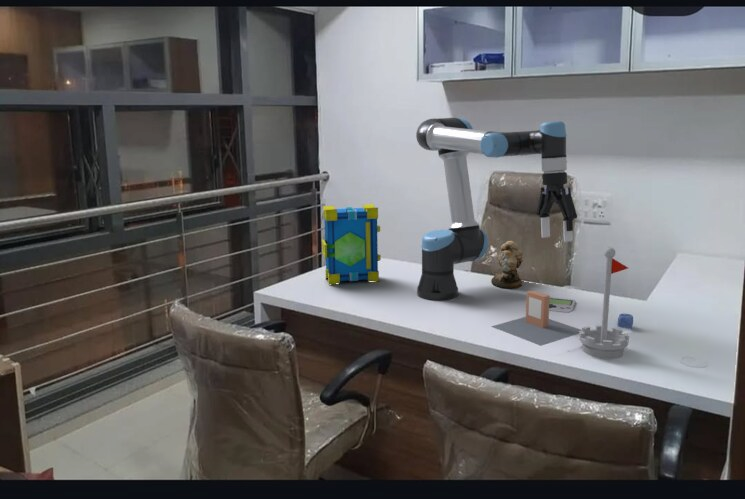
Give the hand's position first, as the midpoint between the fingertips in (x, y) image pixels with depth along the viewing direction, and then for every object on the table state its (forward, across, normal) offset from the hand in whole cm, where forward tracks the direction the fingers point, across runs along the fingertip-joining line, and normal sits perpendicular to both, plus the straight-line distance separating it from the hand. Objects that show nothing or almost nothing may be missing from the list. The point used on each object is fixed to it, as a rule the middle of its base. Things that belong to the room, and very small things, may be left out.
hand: (556, 239), depth 198 cm
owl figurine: (+22, +46, -4) cm, 51 cm away
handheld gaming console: (+26, +13, -7) cm, 30 cm away
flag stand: (+29, -26, +2) cm, 39 cm away
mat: (+27, -6, +11) cm, 30 cm away
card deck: (+26, -3, +9) cm, 27 cm away
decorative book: (+18, +66, +54) cm, 87 cm away
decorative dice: (+28, -11, -16) cm, 34 cm away
